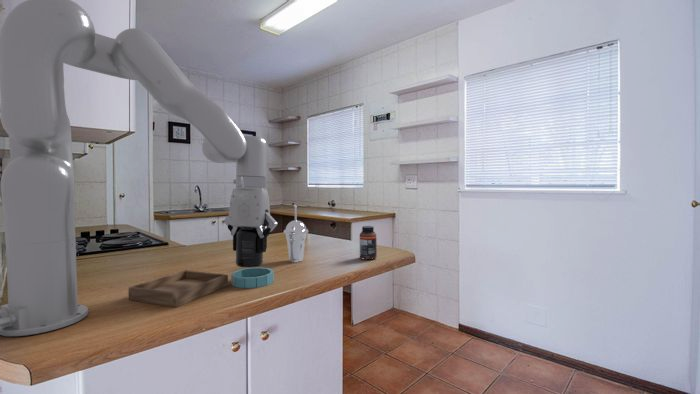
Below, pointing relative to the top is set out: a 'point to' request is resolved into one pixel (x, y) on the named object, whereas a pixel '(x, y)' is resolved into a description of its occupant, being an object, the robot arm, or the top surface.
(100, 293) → the top surface
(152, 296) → the tray
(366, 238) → the supplement bottle
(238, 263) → the supplement bottle
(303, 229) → the cup with straw
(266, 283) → the holder ring
